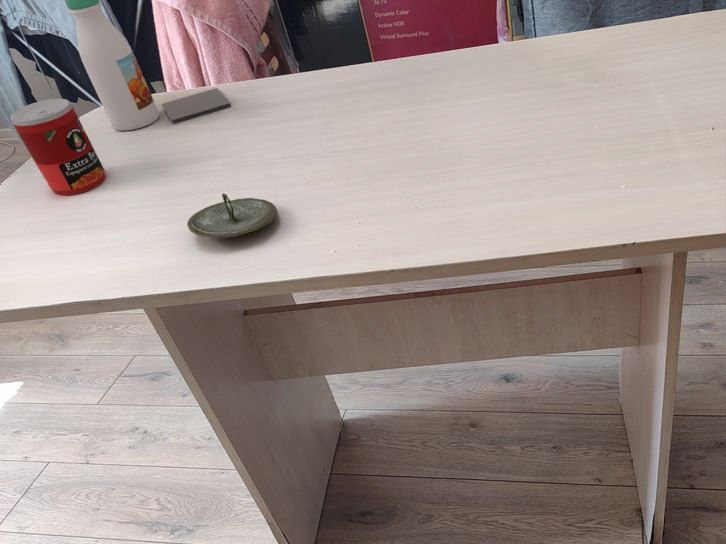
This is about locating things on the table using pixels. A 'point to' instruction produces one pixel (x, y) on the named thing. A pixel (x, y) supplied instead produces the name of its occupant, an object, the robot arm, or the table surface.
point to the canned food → (59, 146)
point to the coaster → (195, 105)
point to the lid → (232, 217)
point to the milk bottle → (112, 68)
